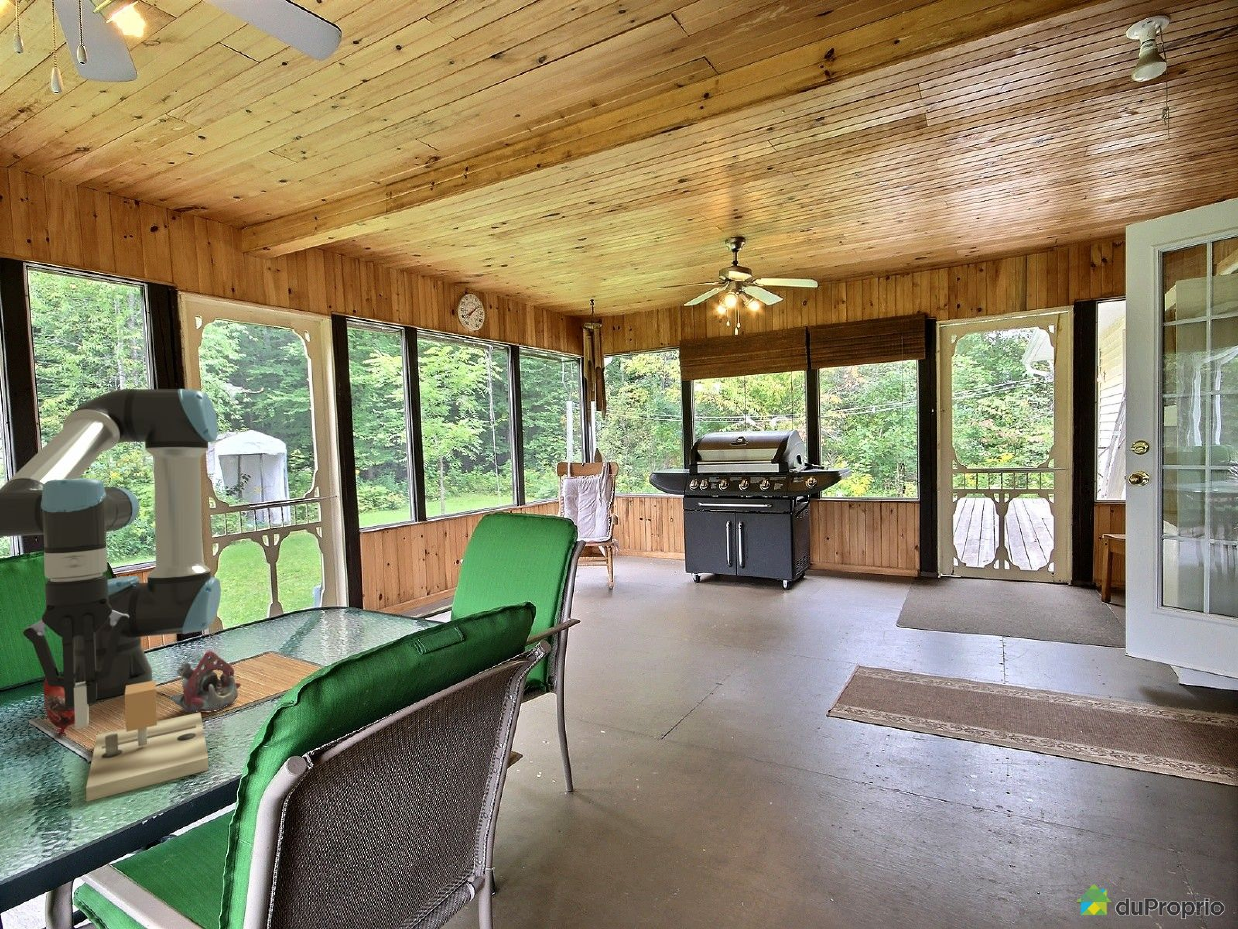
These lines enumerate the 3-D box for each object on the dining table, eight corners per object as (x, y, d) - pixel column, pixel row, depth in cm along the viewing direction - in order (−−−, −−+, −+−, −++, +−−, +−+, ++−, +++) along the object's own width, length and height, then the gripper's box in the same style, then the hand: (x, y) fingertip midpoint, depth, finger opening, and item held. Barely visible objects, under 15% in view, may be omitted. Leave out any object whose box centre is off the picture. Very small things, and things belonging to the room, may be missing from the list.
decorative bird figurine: (57, 723, 121) (55, 670, 121) (94, 746, 111) (92, 689, 111) (37, 729, 118) (35, 675, 118) (72, 753, 109) (70, 694, 108)
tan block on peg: (128, 742, 107) (126, 685, 107) (157, 735, 109) (155, 680, 109) (127, 753, 103) (124, 694, 103) (157, 746, 105) (155, 689, 105)
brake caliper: (213, 708, 121) (180, 655, 122) (177, 738, 123) (146, 686, 125) (260, 686, 132) (230, 638, 133) (227, 714, 134) (197, 666, 136)
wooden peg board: (97, 745, 111) (96, 717, 111) (200, 723, 120) (199, 696, 120) (86, 801, 93) (85, 767, 93) (208, 770, 102) (207, 739, 102)
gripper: (16, 586, 94) (22, 745, 95) (128, 575, 102) (133, 722, 102) (24, 578, 100) (30, 728, 101) (129, 568, 108) (134, 707, 108)
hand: (82, 725), depth 101 cm, fingers closed
